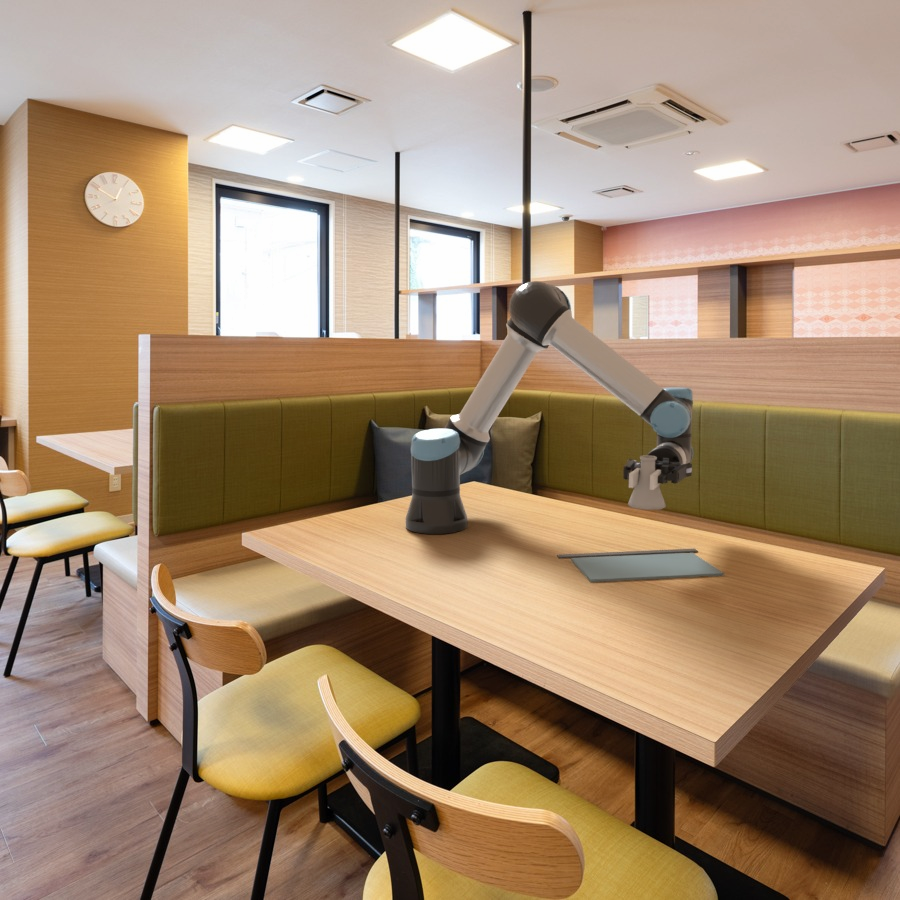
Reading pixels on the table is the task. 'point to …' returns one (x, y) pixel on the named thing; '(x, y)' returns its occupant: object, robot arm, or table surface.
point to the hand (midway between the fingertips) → (641, 481)
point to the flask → (646, 488)
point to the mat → (644, 567)
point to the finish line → (626, 553)
